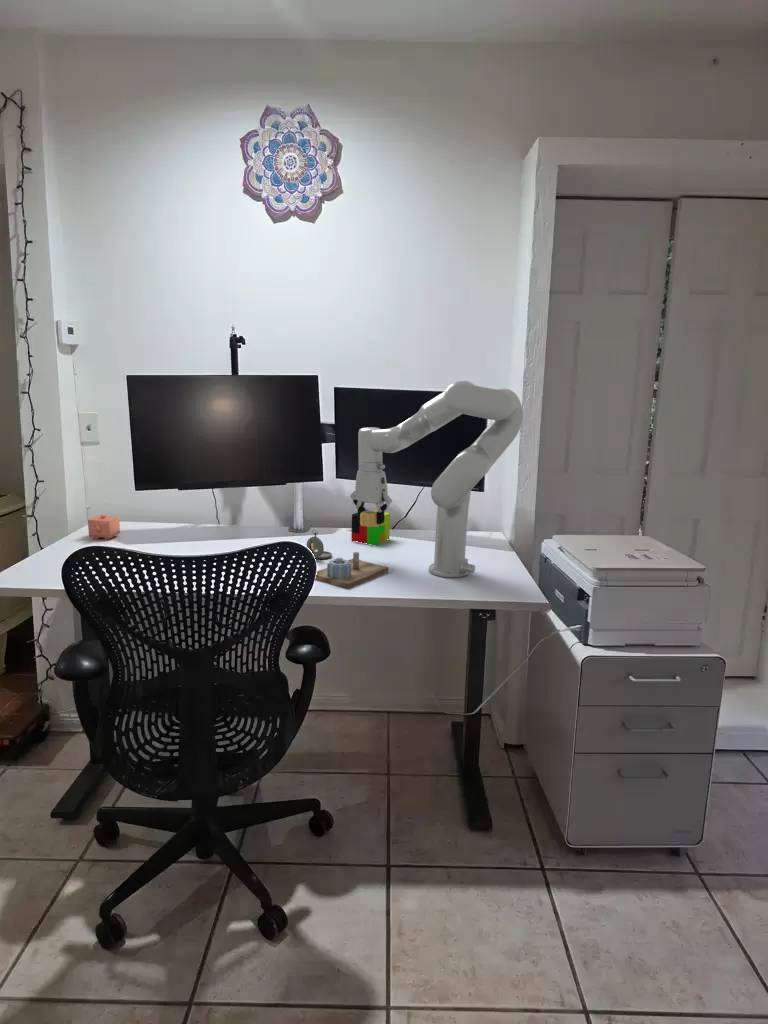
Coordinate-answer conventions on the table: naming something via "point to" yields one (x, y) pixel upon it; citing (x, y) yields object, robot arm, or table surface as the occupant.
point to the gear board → (354, 573)
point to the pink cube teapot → (103, 526)
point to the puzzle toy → (370, 531)
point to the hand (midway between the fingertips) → (371, 521)
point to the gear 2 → (369, 518)
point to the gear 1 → (339, 569)
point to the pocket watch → (317, 547)
